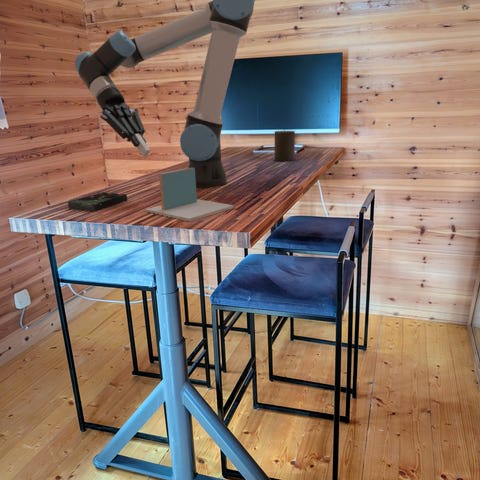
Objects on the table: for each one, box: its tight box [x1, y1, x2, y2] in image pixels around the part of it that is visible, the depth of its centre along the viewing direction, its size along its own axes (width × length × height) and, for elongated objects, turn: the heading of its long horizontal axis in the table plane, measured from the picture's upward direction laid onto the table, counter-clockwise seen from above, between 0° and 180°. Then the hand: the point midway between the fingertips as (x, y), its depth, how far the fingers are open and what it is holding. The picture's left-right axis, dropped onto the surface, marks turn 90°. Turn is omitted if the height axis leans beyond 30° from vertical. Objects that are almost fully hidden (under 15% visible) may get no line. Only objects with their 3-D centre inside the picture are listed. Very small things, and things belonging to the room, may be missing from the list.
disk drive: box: [67, 191, 128, 213], centre depth 135 cm, size 10×3×15 cm
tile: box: [158, 167, 198, 210], centre depth 126 cm, size 12×2×10 cm, turn 139°
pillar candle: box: [274, 128, 296, 162], centre depth 213 cm, size 10×10×15 cm
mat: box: [145, 198, 234, 222], centre depth 125 cm, size 17×18×1 cm
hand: (146, 153), depth 131 cm, fingers closed
